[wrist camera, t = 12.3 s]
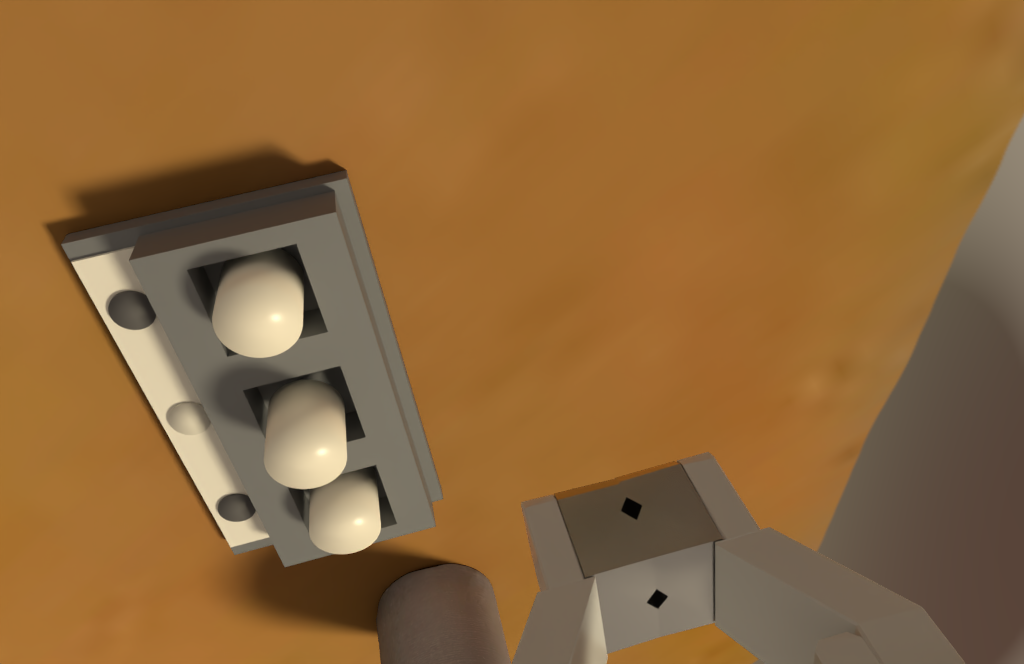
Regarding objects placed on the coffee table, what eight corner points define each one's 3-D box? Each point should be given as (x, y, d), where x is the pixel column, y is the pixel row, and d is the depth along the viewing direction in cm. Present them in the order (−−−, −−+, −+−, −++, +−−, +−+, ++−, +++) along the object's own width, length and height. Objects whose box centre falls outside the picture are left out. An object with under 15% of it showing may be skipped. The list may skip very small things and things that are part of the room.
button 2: (332, 371, 45) (334, 419, 41) (353, 427, 47) (356, 477, 44) (257, 390, 45) (252, 440, 41) (282, 445, 47) (279, 497, 44)
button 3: (367, 449, 51) (370, 496, 48) (383, 494, 54) (388, 543, 50) (301, 466, 51) (299, 515, 47) (320, 511, 53) (321, 561, 50)
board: (346, 170, 42) (348, 199, 39) (441, 487, 57) (448, 528, 53) (67, 234, 41) (45, 270, 38) (236, 541, 55) (231, 587, 52)
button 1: (289, 236, 42) (287, 275, 38) (314, 303, 44) (314, 346, 41) (208, 255, 42) (198, 296, 38) (237, 321, 44) (230, 366, 41)
